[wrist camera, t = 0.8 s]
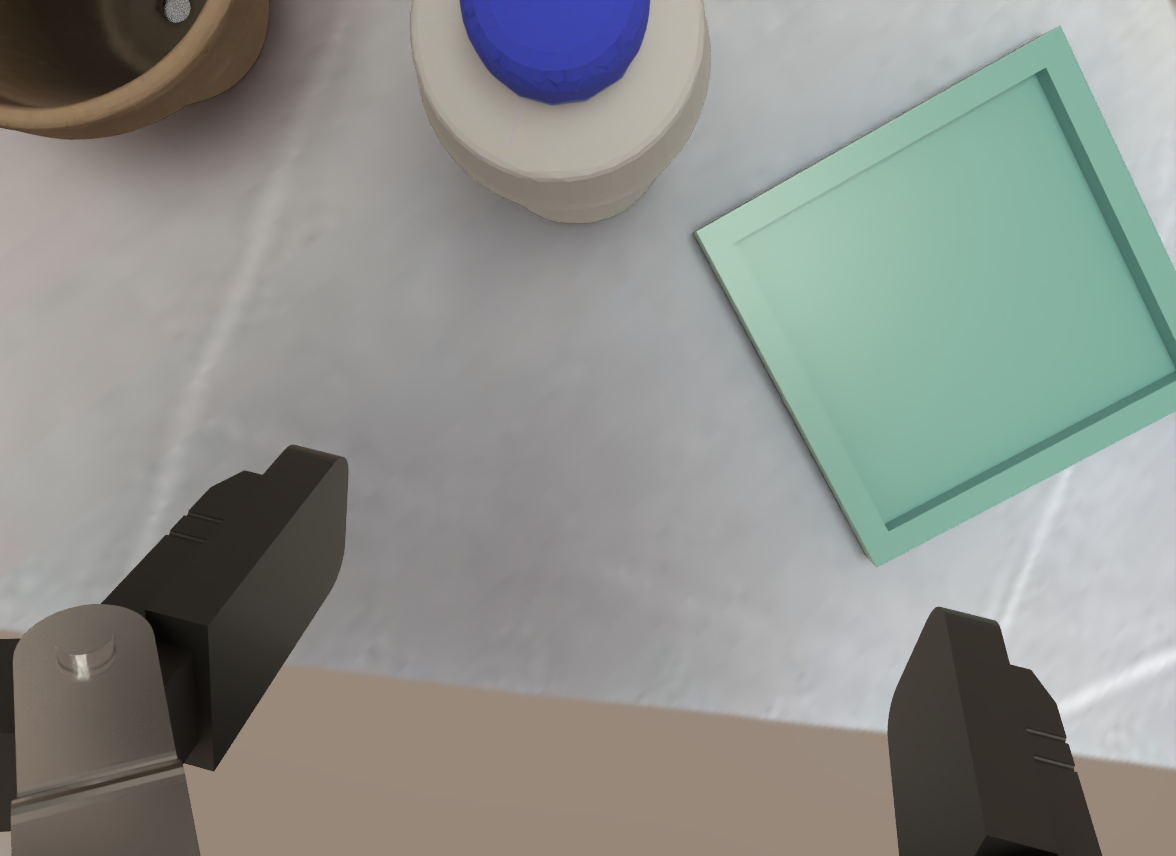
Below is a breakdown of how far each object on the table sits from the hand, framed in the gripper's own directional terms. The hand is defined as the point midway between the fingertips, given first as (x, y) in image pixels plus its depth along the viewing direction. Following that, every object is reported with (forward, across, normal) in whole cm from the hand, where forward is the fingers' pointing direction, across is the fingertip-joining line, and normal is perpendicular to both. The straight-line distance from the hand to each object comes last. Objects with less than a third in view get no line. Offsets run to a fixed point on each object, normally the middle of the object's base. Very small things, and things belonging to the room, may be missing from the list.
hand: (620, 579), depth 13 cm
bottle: (+26, +5, +1) cm, 26 cm away
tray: (+26, -9, +4) cm, 28 cm away
